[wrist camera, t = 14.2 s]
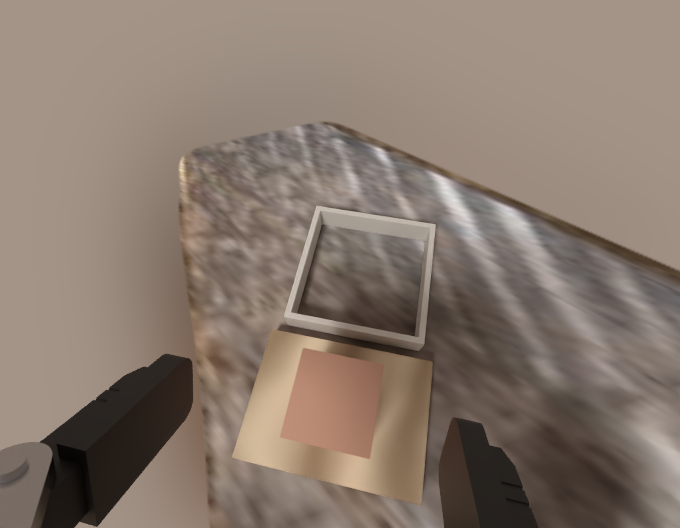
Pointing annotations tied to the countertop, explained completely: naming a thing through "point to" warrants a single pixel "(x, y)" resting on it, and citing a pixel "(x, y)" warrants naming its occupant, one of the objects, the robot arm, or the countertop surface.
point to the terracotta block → (334, 403)
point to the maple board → (332, 466)
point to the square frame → (375, 226)
